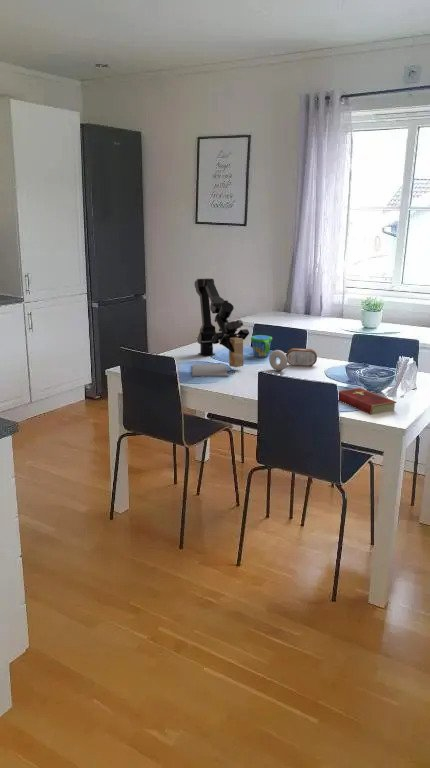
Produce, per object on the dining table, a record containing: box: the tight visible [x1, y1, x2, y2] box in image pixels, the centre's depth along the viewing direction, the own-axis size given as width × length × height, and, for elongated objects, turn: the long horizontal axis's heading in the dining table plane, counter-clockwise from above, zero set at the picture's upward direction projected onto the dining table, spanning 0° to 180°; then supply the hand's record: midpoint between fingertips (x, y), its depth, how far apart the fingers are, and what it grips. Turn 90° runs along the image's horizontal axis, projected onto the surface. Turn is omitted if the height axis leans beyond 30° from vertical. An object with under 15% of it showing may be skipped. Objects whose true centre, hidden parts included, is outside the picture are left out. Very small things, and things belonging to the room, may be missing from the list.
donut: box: [268, 349, 288, 372], centre depth 287 cm, size 10×4×10 cm, turn 46°
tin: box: [285, 347, 318, 367], centre depth 297 cm, size 15×3×8 cm, turn 84°
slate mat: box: [191, 363, 229, 378], centre depth 286 cm, size 20×16×1 cm
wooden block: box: [228, 337, 244, 368], centre depth 287 cm, size 5×4×13 cm
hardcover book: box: [338, 387, 397, 416], centre depth 239 cm, size 12×21×4 cm, turn 27°
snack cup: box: [250, 334, 273, 358], centre depth 315 cm, size 16×10×10 cm
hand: (237, 351), depth 286 cm, fingers closed on wooden block, 4 cm apart
